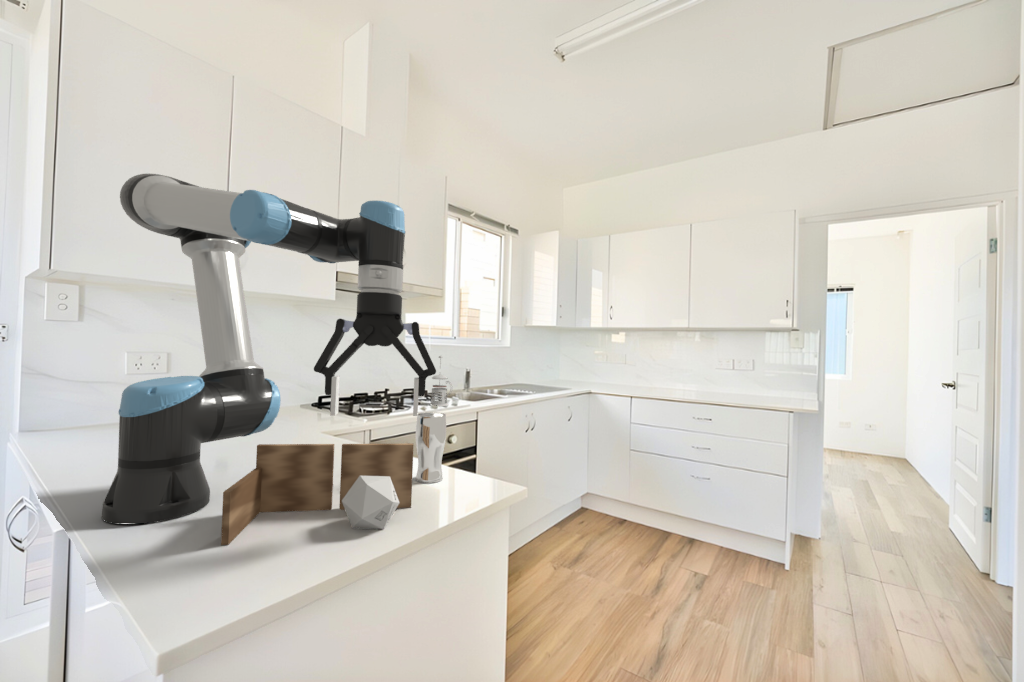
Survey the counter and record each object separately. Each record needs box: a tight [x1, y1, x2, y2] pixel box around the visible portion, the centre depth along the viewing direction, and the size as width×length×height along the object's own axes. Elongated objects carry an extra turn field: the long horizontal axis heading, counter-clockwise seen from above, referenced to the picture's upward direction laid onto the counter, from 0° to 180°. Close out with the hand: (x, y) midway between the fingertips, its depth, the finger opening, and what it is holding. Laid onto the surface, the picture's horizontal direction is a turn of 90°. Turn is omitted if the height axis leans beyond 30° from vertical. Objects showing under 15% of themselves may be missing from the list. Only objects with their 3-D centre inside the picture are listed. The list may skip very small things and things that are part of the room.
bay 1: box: [220, 443, 335, 546], centre depth 75 cm, size 13×14×12 cm
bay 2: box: [338, 442, 415, 511], centre depth 84 cm, size 13×1×12 cm, turn 101°
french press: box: [429, 355, 453, 407], centre depth 225 cm, size 10×12×25 cm
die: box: [342, 476, 399, 530], centre depth 76 cm, size 8×9×10 cm
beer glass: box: [415, 411, 447, 484], centre depth 103 cm, size 7×7×15 cm
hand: (375, 414), depth 77 cm, fingers open, 13 cm apart
